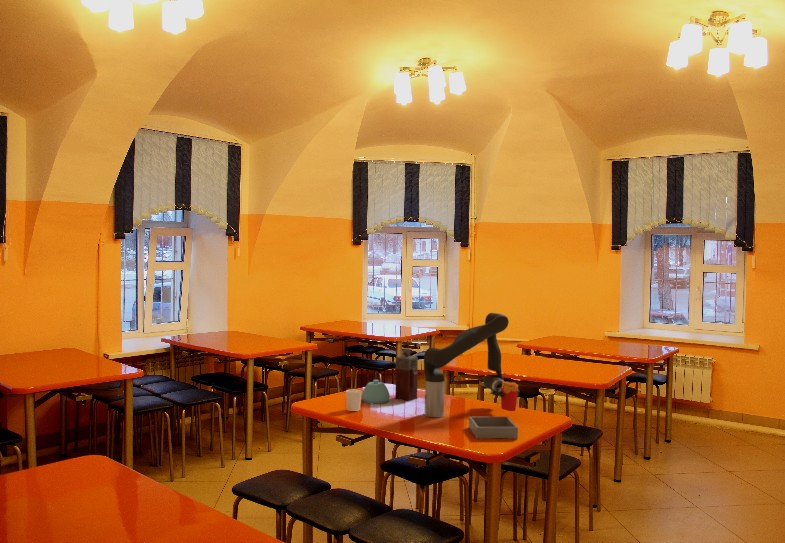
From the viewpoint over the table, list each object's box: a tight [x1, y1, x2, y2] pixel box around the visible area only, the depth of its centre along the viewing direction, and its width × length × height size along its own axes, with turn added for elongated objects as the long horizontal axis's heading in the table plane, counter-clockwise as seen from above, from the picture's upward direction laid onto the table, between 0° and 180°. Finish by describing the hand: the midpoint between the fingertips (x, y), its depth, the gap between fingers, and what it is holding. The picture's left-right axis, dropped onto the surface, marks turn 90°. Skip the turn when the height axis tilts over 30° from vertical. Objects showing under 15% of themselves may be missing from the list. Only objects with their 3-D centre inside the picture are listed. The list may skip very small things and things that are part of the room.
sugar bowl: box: [361, 379, 391, 405], centre depth 335 cm, size 15×15×12 cm
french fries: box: [500, 381, 519, 412], centre depth 295 cm, size 9×4×13 cm, turn 40°
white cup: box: [345, 388, 363, 412], centre depth 314 cm, size 8×8×10 cm
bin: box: [468, 416, 519, 440], centre depth 277 cm, size 18×18×5 cm
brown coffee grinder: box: [394, 347, 419, 402], centre depth 340 cm, size 9×11×28 cm
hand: (509, 395), depth 294 cm, fingers closed on french fries, 5 cm apart
